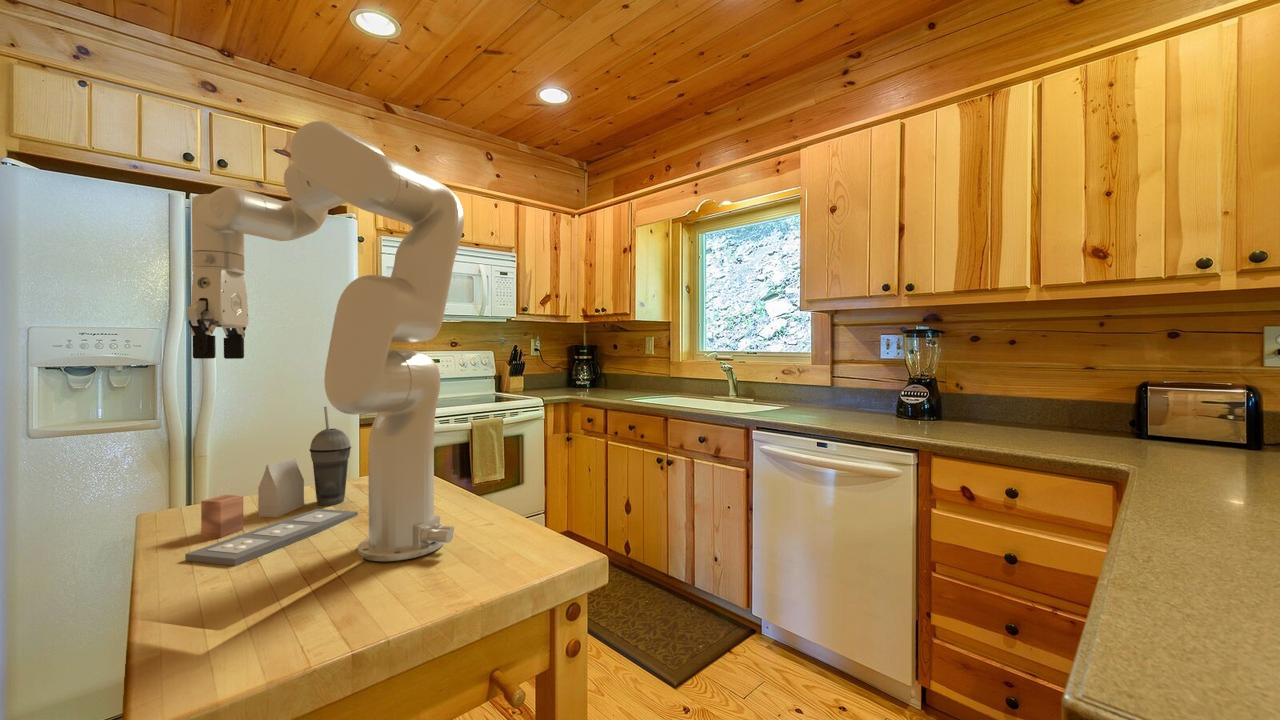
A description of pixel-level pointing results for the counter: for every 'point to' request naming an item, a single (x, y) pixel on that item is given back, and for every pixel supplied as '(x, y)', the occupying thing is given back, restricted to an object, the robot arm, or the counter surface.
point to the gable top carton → (280, 489)
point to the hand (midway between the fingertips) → (219, 358)
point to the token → (221, 516)
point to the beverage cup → (330, 464)
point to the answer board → (269, 537)
